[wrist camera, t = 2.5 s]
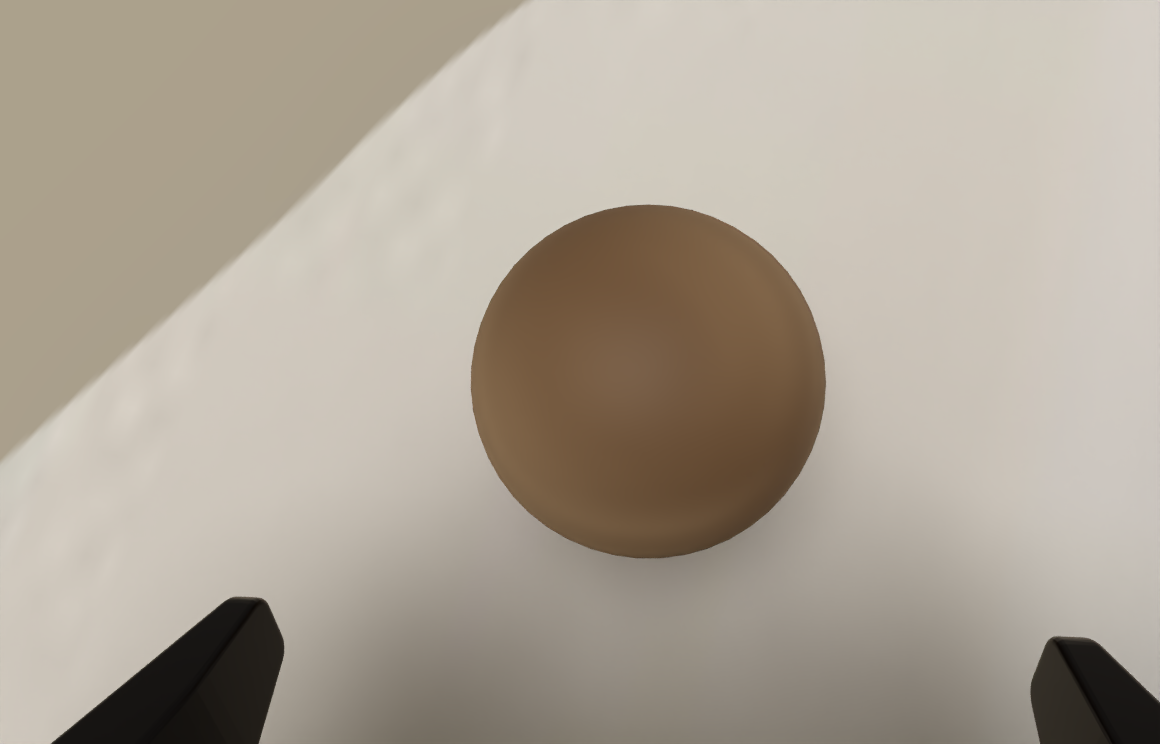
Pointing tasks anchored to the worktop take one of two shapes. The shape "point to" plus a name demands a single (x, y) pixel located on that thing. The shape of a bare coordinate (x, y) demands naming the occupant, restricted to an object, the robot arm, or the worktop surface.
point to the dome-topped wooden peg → (648, 381)
